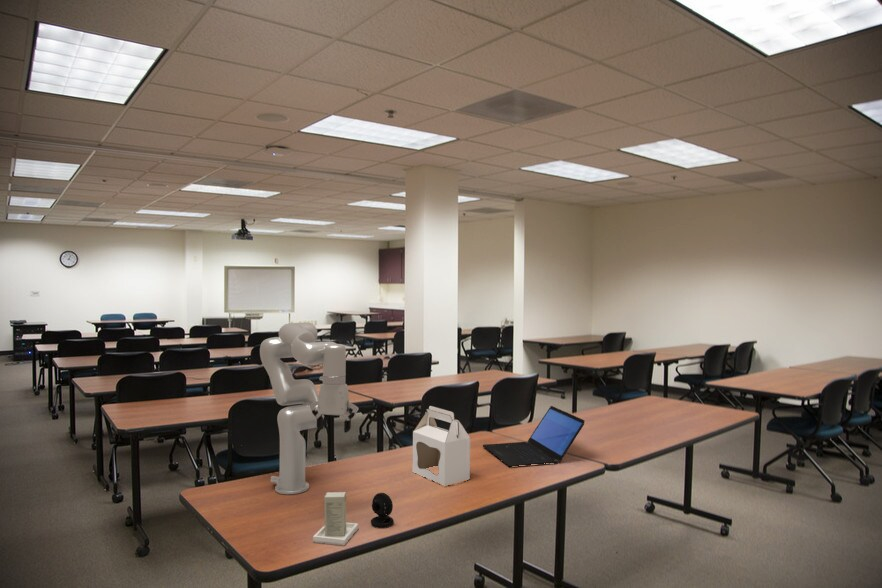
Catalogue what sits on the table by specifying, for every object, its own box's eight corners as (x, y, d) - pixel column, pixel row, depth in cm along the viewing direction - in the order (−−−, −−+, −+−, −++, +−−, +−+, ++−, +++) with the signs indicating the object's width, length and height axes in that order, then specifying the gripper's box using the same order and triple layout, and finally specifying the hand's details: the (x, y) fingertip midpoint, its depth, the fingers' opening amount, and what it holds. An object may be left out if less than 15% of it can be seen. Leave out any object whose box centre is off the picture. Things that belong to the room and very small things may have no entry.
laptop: (482, 448, 273) (482, 408, 273) (551, 443, 283) (551, 405, 283) (509, 469, 241) (509, 424, 241) (585, 462, 251) (586, 420, 251)
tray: (312, 542, 167) (313, 536, 167) (328, 526, 179) (329, 520, 179) (344, 546, 165) (344, 540, 165) (358, 529, 177) (358, 523, 177)
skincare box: (346, 530, 175) (347, 491, 175) (344, 536, 170) (345, 496, 170) (326, 530, 175) (326, 491, 175) (323, 536, 170) (324, 496, 170)
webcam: (365, 524, 181) (365, 493, 181) (380, 517, 187) (380, 487, 187) (384, 530, 176) (384, 499, 176) (398, 522, 183) (399, 492, 183)
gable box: (411, 472, 233) (412, 406, 233) (436, 466, 242) (437, 402, 242) (444, 487, 216) (445, 415, 216) (470, 480, 224) (471, 411, 224)
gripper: (305, 381, 187) (305, 431, 188) (354, 383, 184) (353, 435, 184) (315, 377, 195) (314, 426, 195) (362, 380, 191) (361, 429, 191)
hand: (333, 430), depth 189 cm, fingers open, 9 cm apart
